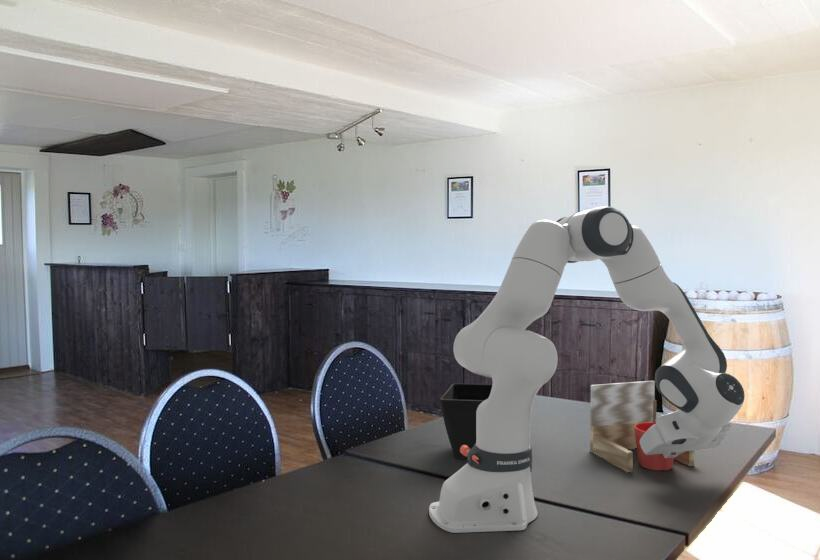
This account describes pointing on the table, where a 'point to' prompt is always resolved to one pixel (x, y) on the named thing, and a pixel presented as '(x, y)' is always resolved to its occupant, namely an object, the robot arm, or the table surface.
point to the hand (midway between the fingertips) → (668, 455)
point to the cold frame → (622, 421)
